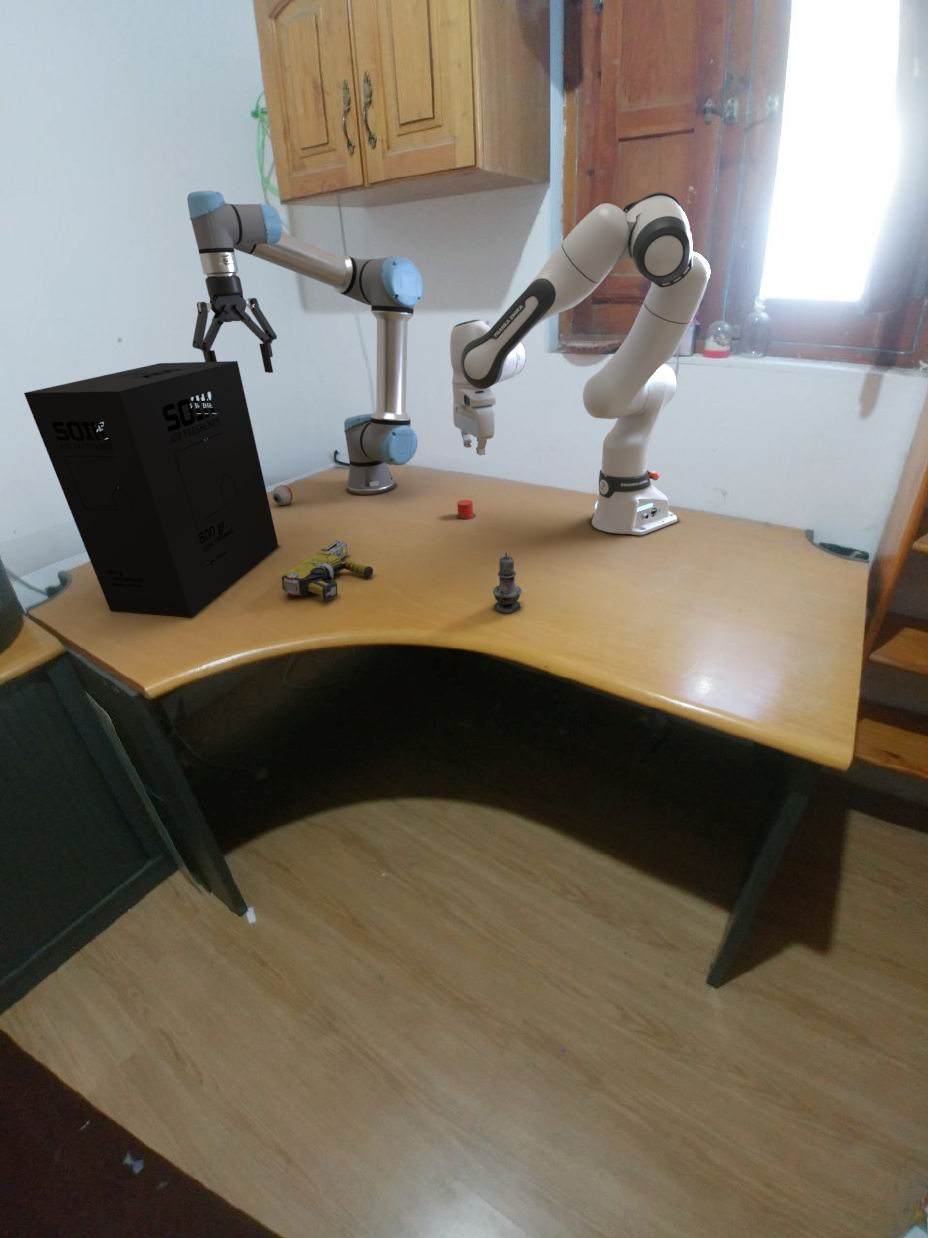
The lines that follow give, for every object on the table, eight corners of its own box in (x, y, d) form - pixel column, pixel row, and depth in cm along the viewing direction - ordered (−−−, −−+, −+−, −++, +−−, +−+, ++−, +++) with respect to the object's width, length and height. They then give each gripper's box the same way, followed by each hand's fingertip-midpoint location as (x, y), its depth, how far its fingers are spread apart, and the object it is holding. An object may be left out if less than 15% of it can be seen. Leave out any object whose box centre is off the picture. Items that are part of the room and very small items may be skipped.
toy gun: (389, 548, 145) (334, 537, 149) (339, 588, 125) (277, 575, 129) (389, 566, 147) (335, 555, 151) (340, 608, 127) (279, 595, 131)
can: (458, 519, 169) (457, 505, 167) (457, 514, 172) (456, 500, 170) (473, 518, 169) (473, 504, 167) (472, 513, 172) (472, 499, 170)
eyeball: (269, 507, 186) (265, 488, 183) (282, 500, 191) (278, 481, 188) (285, 508, 183) (282, 489, 180) (298, 502, 188) (294, 483, 185)
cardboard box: (191, 617, 126) (119, 391, 104) (110, 610, 131) (23, 392, 108) (278, 546, 158) (237, 360, 135) (210, 542, 162) (159, 363, 140)
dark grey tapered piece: (519, 614, 120) (519, 559, 114) (490, 612, 122) (489, 558, 116) (523, 600, 125) (523, 546, 119) (495, 598, 127) (493, 545, 121)
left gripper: (173, 277, 126) (201, 385, 136) (279, 272, 140) (296, 369, 151) (159, 278, 130) (187, 382, 141) (263, 273, 145) (281, 368, 156)
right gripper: (445, 390, 156) (449, 444, 162) (473, 401, 139) (476, 461, 145) (468, 387, 157) (471, 441, 164) (498, 397, 140) (500, 457, 147)
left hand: (244, 376), depth 146 cm, fingers open, 13 cm apart
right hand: (474, 450), depth 154 cm, fingers open, 8 cm apart
